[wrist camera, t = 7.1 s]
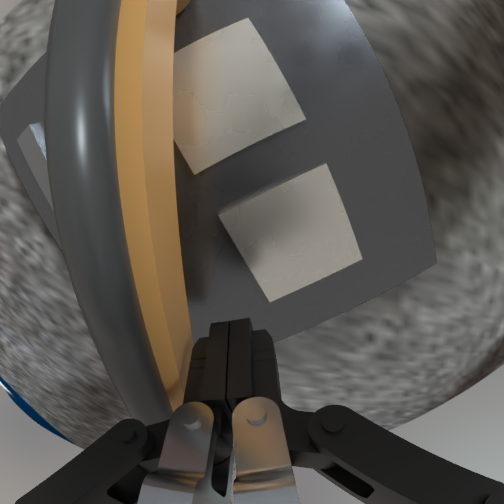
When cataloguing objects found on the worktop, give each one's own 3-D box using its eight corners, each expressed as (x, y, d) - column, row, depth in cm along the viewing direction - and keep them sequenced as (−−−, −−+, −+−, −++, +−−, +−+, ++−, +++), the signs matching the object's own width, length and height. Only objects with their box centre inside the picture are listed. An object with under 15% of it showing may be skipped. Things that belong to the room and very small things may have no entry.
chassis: (278, -46, 8) (286, -76, 5) (412, 241, 16) (440, 266, 13) (23, 112, 11) (-12, 116, 8) (177, 347, 19) (169, 382, 16)
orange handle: (194, -28, 7) (158, -122, 1) (203, 332, 15) (188, 445, 9) (136, -18, 7) (65, -90, 1) (156, 330, 15) (125, 436, 8)
